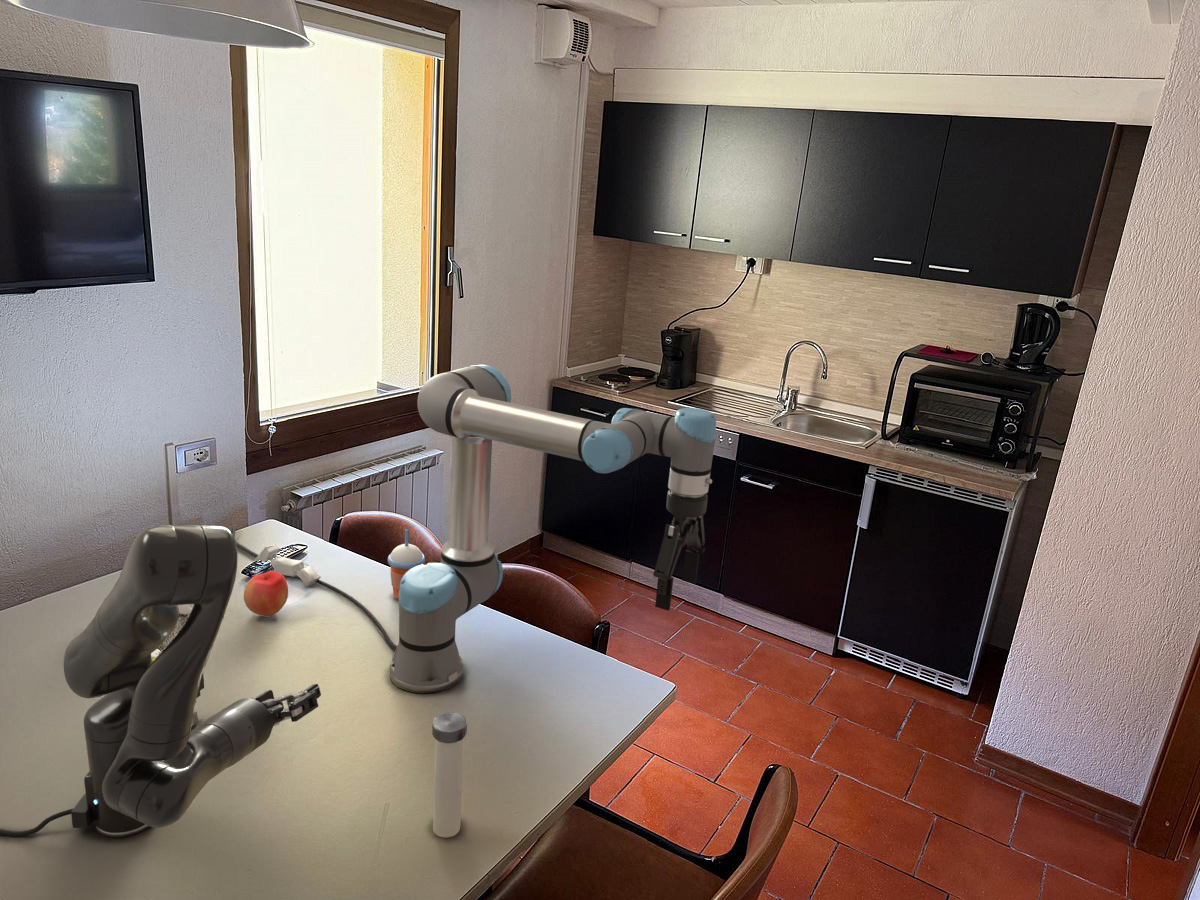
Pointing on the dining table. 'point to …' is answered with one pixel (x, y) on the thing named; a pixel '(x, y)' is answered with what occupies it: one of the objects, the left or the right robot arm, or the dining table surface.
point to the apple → (266, 593)
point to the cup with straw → (403, 562)
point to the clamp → (288, 565)
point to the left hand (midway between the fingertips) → (294, 692)
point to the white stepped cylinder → (447, 788)
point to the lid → (449, 727)
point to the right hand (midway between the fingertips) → (676, 594)
